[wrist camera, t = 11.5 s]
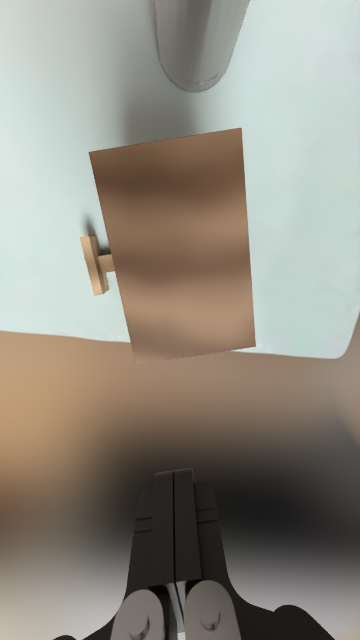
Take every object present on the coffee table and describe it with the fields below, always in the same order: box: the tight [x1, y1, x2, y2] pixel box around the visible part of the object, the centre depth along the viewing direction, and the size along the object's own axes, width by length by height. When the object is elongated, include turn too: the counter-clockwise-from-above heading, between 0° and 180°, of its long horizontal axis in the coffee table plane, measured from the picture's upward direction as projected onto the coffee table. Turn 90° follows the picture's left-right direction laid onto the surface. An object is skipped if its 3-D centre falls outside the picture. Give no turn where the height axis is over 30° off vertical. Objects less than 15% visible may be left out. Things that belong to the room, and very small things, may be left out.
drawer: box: [80, 236, 115, 296], centre depth 37 cm, size 12×19×4 cm, turn 98°
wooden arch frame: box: [89, 128, 256, 365], centre depth 30 cm, size 17×11×19 cm, turn 8°
